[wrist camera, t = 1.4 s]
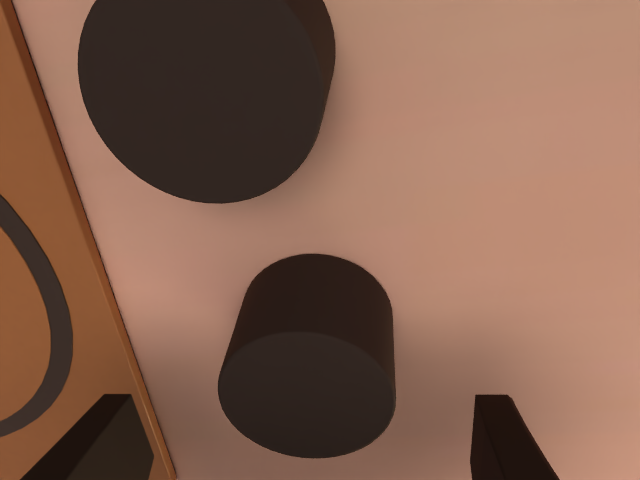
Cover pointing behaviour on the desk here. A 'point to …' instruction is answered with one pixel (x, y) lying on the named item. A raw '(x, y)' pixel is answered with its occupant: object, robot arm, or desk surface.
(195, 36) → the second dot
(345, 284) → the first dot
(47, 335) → the drawing board
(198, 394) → the desk surface
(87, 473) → the robot arm
